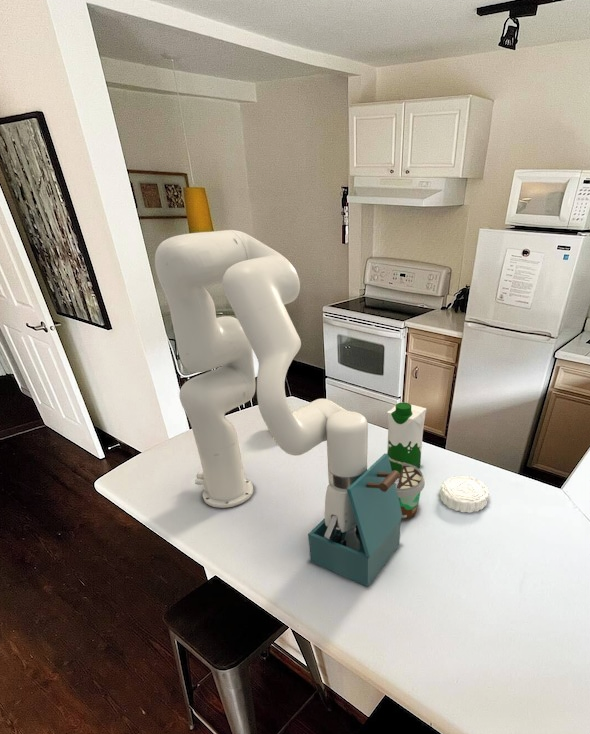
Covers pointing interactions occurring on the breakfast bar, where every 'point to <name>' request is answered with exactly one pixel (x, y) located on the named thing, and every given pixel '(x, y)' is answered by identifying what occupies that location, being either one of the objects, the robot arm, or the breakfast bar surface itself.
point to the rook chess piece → (352, 538)
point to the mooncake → (464, 494)
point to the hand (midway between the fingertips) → (348, 542)
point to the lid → (375, 503)
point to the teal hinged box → (351, 554)
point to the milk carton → (405, 435)
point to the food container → (409, 490)
